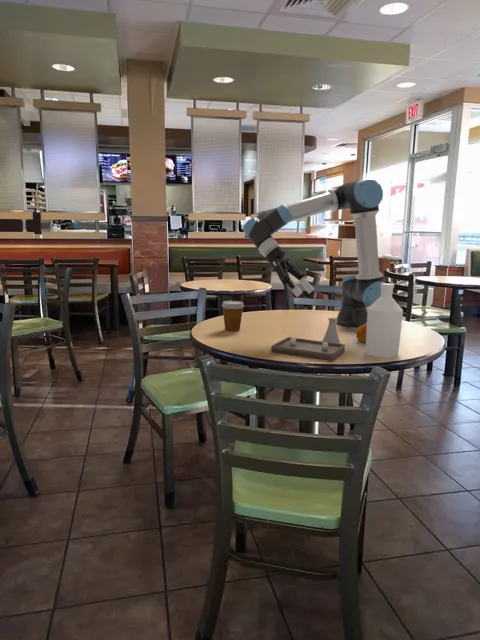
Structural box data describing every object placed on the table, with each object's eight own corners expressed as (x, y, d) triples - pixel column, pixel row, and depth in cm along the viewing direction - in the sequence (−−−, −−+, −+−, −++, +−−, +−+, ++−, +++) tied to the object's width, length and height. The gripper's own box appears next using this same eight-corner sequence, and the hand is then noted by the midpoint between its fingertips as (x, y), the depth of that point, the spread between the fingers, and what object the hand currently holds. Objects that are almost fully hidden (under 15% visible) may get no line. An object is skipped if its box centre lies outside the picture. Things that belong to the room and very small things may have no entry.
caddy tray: (287, 343, 179) (288, 333, 179) (344, 351, 170) (345, 340, 169) (271, 352, 165) (271, 341, 165) (332, 361, 156) (332, 349, 155)
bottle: (362, 348, 174) (367, 281, 169) (394, 350, 173) (400, 282, 168) (367, 357, 162) (373, 285, 158) (402, 358, 161) (409, 286, 157)
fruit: (353, 339, 188) (354, 320, 187) (374, 340, 188) (376, 321, 186) (357, 344, 180) (359, 324, 178) (380, 345, 180) (381, 325, 178)
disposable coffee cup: (241, 333, 195) (241, 304, 193) (218, 331, 197) (219, 303, 195) (245, 328, 204) (246, 301, 202) (224, 327, 206) (224, 300, 204)
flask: (341, 343, 182) (343, 317, 180) (339, 347, 176) (341, 321, 174) (323, 341, 185) (324, 316, 183) (320, 345, 178) (321, 319, 176)
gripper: (277, 257, 198) (309, 295, 194) (252, 259, 176) (287, 302, 172) (290, 245, 194) (322, 284, 190) (265, 245, 172) (301, 289, 168)
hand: (305, 293), depth 181 cm, fingers open, 13 cm apart
